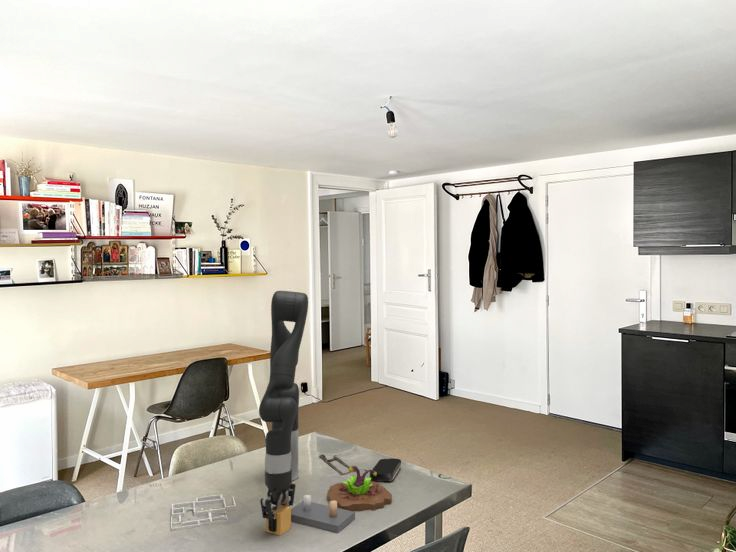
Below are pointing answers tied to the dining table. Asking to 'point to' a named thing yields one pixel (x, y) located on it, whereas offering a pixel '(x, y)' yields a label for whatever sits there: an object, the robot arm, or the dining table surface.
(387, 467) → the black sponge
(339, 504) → the plant
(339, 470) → the hacksaw
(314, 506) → the board
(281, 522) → the pale orange cube
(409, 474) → the dining table surface
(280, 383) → the robot arm
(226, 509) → the floor plan model
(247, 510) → the dining table surface
